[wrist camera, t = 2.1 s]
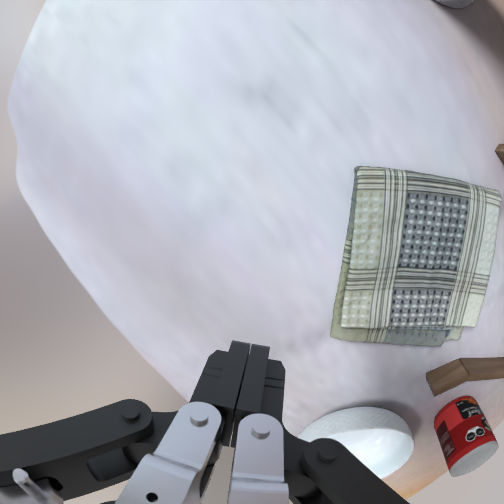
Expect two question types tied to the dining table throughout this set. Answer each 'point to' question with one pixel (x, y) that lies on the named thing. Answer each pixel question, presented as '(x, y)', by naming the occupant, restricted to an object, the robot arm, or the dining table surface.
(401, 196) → the dish towel
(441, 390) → the towel holder
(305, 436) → the cereal bowl
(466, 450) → the canned food
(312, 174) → the dining table surface
